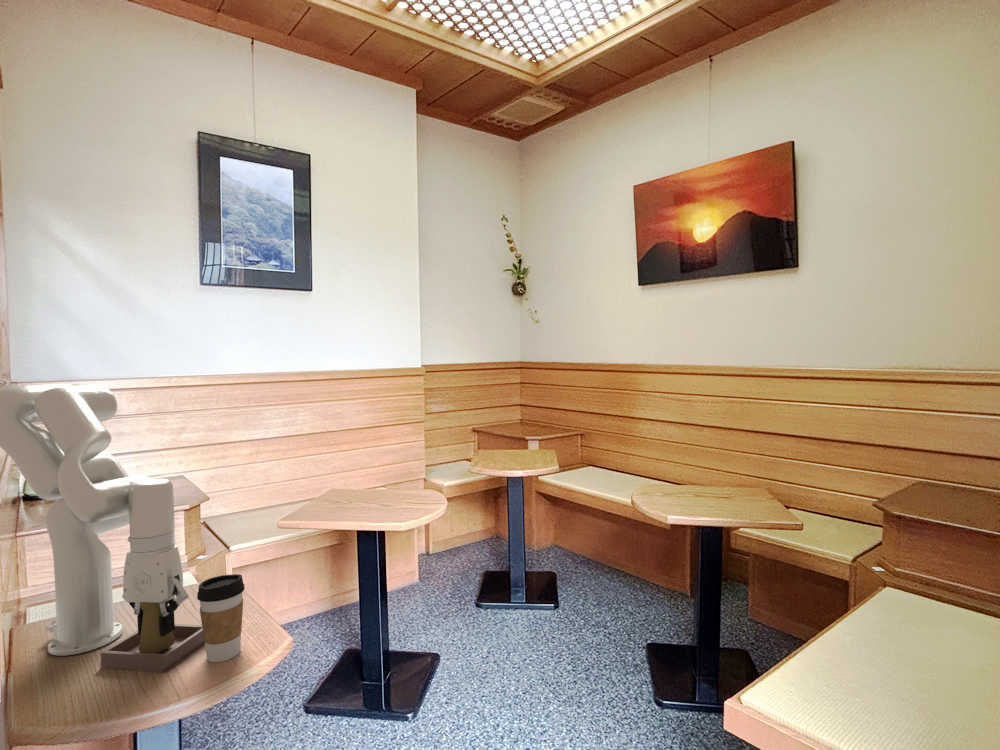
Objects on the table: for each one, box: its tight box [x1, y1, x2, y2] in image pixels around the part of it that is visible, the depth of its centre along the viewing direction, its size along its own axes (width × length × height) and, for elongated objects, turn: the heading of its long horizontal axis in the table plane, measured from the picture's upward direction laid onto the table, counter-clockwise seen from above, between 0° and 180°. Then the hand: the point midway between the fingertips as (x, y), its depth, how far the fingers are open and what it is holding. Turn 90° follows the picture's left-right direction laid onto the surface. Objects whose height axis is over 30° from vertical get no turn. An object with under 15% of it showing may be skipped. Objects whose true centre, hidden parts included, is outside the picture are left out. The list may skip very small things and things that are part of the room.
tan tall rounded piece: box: [139, 601, 175, 653], centre depth 106 cm, size 6×6×11 cm
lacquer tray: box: [100, 623, 205, 673], centre depth 106 cm, size 14×12×3 cm
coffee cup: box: [196, 573, 245, 663], centre depth 105 cm, size 8×8×15 cm
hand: (156, 631), depth 106 cm, fingers closed on tan tall rounded piece, 4 cm apart
